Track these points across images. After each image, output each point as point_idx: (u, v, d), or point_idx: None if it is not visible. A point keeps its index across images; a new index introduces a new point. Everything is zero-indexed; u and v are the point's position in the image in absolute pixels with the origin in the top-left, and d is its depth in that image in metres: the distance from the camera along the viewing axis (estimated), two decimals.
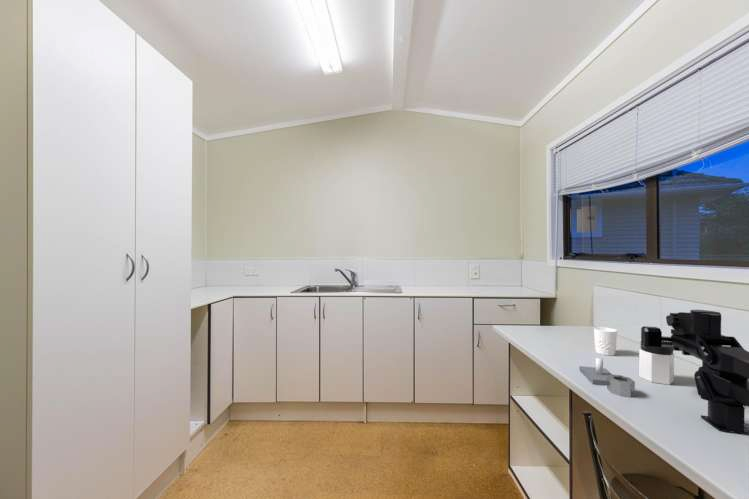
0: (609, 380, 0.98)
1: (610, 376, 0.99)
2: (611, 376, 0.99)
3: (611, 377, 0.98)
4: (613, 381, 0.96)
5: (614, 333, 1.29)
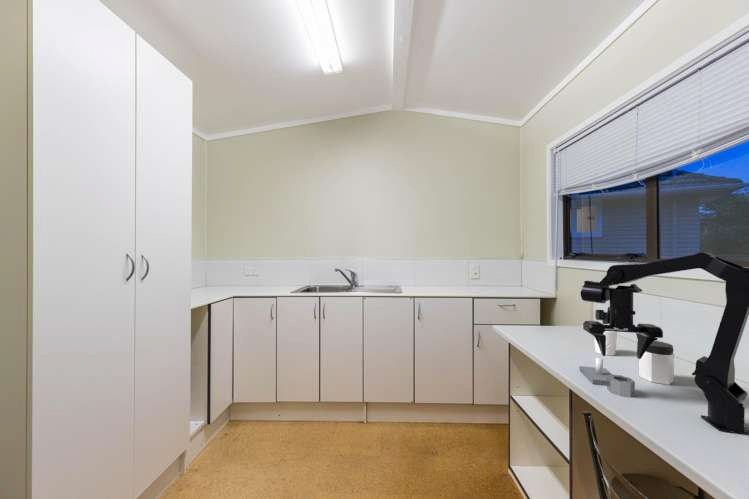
0: (609, 380, 0.98)
1: (610, 376, 0.99)
2: (611, 376, 0.99)
3: (611, 377, 0.98)
4: (613, 381, 0.96)
5: (614, 333, 1.29)
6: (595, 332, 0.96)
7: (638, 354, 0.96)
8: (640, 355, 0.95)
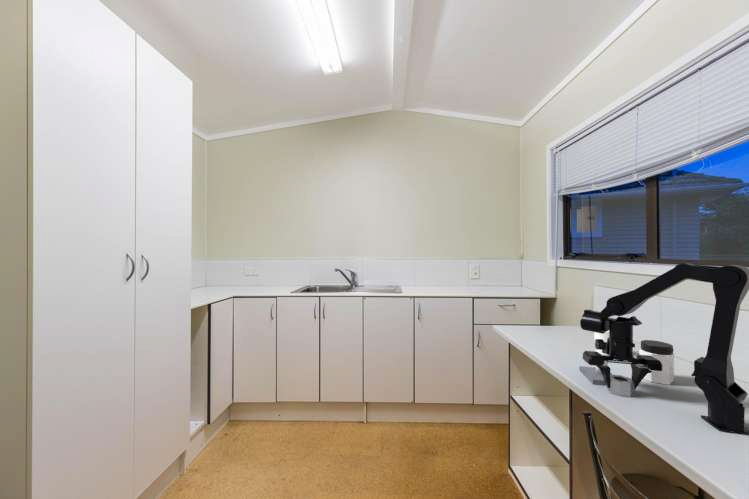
0: None
1: (610, 376, 0.99)
2: (611, 376, 0.99)
3: (611, 377, 0.98)
4: (613, 381, 0.96)
5: None
6: (595, 364, 0.97)
7: None
8: None
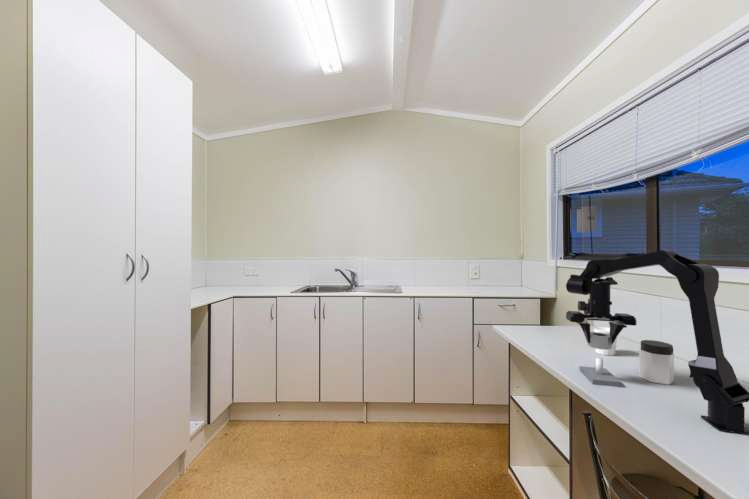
0: None
1: (590, 333, 1.09)
2: (591, 333, 1.09)
3: (591, 333, 1.08)
4: (592, 336, 1.06)
5: None
6: (576, 321, 1.07)
7: None
8: (612, 341, 1.06)
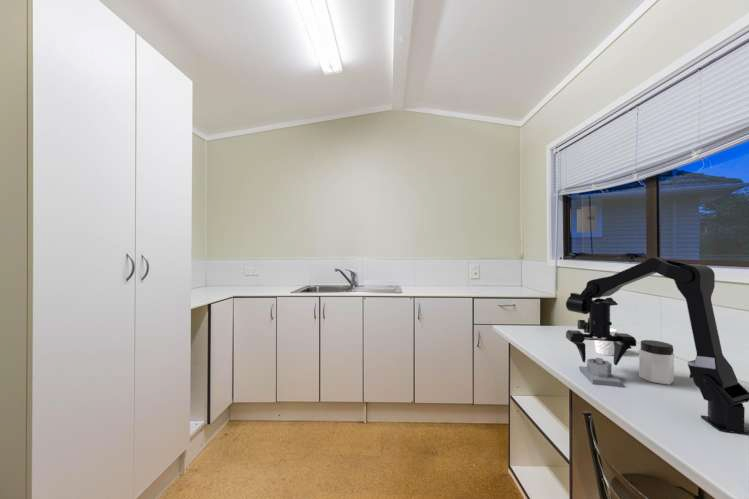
0: (589, 363, 1.08)
1: (590, 360, 1.09)
2: (591, 360, 1.09)
3: (591, 360, 1.09)
4: (592, 364, 1.07)
5: (614, 333, 1.29)
6: (576, 341, 1.07)
7: (614, 361, 1.06)
8: (616, 362, 1.06)
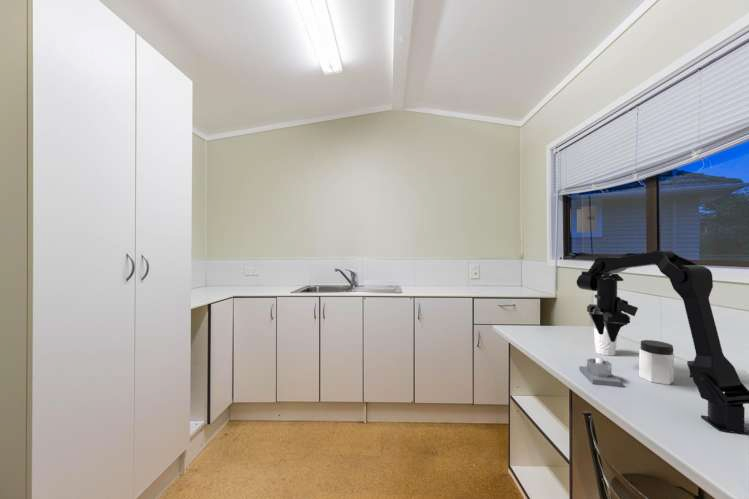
0: (589, 363, 1.08)
1: (590, 360, 1.09)
2: (591, 360, 1.09)
3: (591, 360, 1.09)
4: (592, 364, 1.07)
5: None
6: (587, 310, 1.20)
7: None
8: (609, 337, 1.07)
